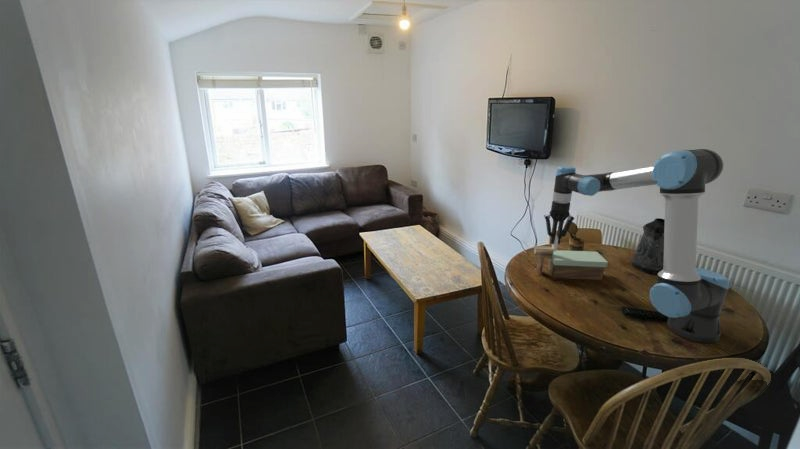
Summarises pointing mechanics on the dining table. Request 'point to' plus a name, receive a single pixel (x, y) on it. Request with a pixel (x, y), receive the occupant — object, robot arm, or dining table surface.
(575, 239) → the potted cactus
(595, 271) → the toolbox
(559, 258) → the lid
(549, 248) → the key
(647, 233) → the beer stein
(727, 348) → the dining table surface
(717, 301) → the robot arm
